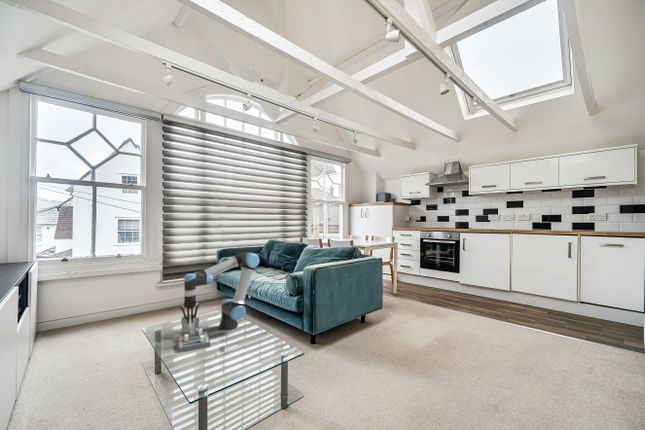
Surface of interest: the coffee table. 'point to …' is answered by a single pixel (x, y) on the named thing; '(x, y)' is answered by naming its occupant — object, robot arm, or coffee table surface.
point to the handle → (200, 331)
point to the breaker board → (193, 342)
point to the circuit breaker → (186, 326)
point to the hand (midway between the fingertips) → (190, 327)
